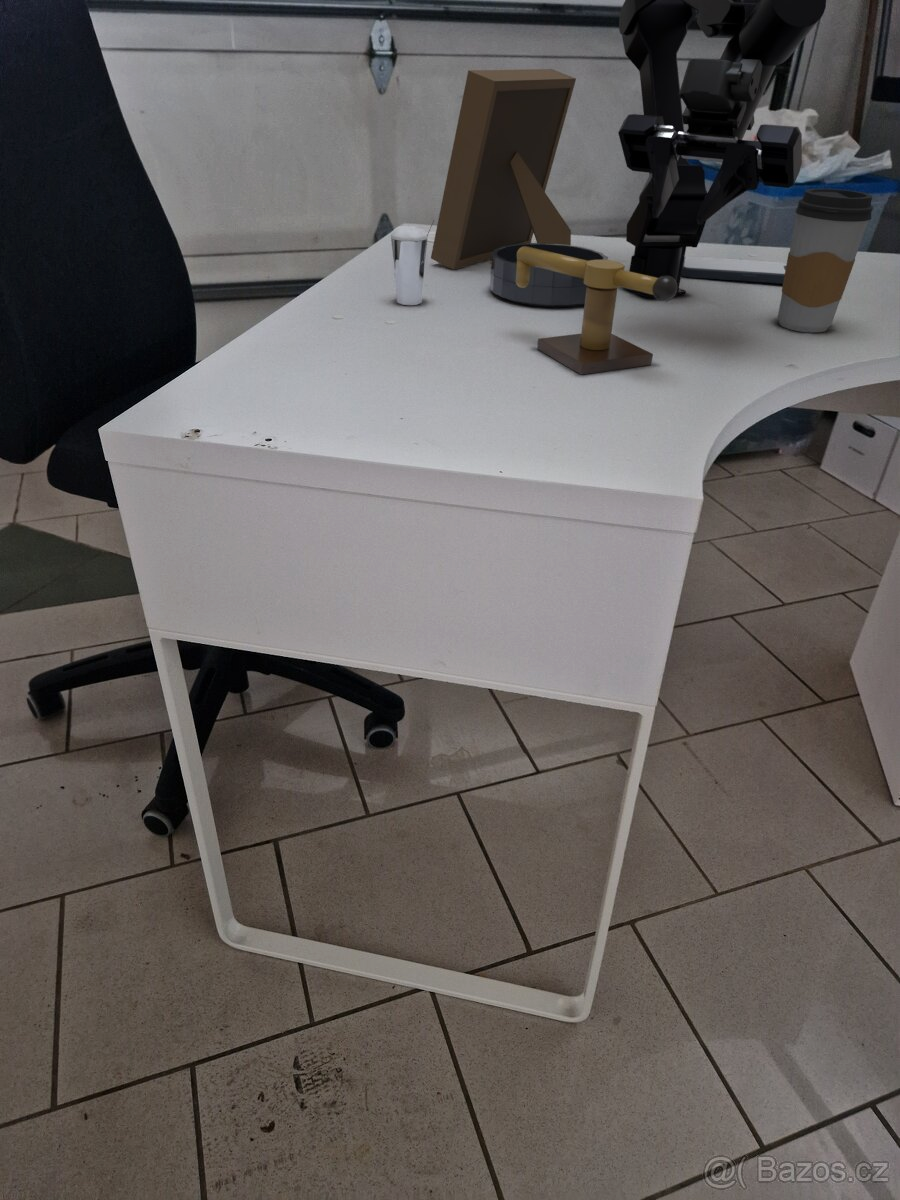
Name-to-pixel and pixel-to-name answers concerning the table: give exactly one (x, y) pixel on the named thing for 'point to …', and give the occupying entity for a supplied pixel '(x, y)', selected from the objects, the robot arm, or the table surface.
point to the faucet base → (594, 357)
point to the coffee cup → (822, 256)
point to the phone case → (734, 269)
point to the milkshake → (409, 263)
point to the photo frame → (503, 165)
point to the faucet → (593, 273)
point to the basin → (540, 277)
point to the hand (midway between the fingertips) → (676, 218)
